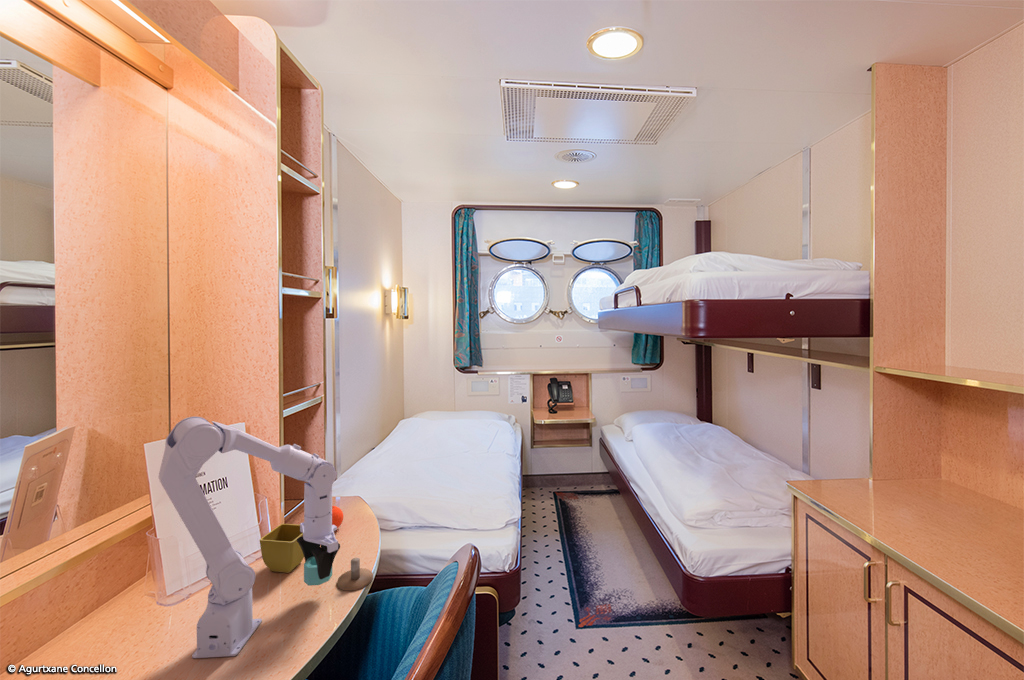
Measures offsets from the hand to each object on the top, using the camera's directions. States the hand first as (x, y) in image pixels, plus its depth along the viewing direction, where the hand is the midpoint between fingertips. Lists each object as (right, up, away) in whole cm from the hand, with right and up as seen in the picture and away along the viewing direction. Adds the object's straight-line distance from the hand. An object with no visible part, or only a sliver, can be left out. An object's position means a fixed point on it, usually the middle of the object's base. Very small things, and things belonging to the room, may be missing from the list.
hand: (318, 571), depth 95 cm
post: (+6, -6, +6) cm, 10 cm away
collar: (0, -2, 0) cm, 2 cm away
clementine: (-11, -5, +31) cm, 33 cm away
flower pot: (-13, -6, +12) cm, 19 cm away
